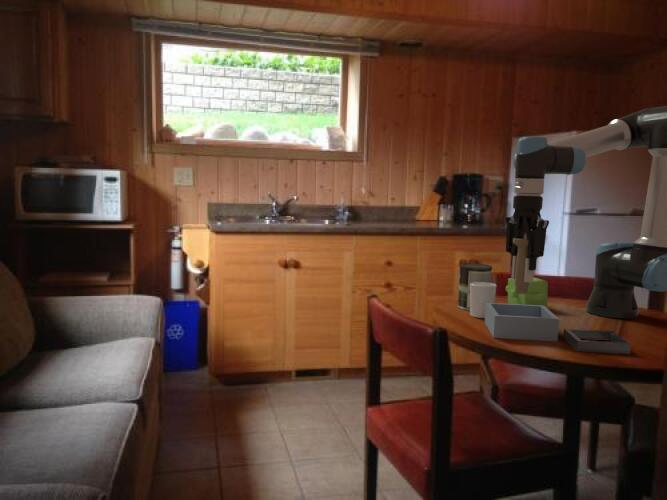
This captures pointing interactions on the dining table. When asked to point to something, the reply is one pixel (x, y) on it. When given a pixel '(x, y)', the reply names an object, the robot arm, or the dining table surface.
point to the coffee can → (468, 275)
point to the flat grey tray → (613, 346)
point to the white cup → (481, 297)
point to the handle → (521, 265)
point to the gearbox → (529, 293)
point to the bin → (521, 322)
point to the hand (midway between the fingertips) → (522, 280)
